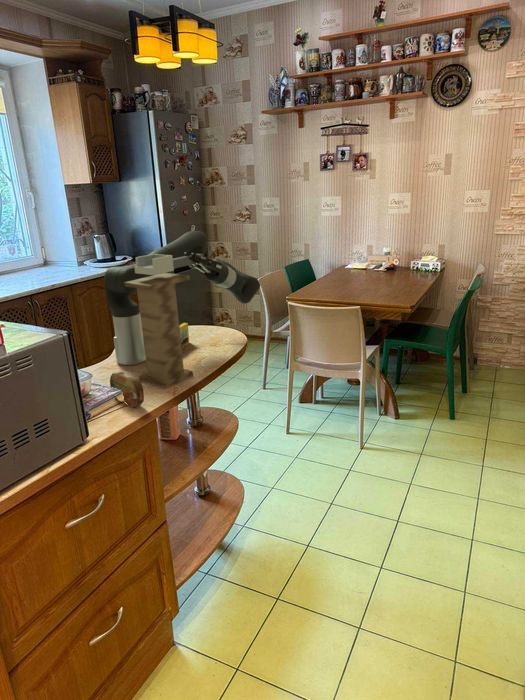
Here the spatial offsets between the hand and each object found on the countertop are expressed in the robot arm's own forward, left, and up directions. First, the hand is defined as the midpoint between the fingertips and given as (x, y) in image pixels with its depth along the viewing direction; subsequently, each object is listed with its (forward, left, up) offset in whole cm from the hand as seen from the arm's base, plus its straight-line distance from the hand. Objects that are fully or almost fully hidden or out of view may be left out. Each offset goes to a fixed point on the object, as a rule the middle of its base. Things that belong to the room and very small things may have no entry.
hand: (188, 255), depth 156 cm
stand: (-7, -13, -37) cm, 40 cm away
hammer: (-3, -6, -3) cm, 7 cm away
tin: (-13, -30, -37) cm, 50 cm away
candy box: (-11, +15, -37) cm, 42 cm away
